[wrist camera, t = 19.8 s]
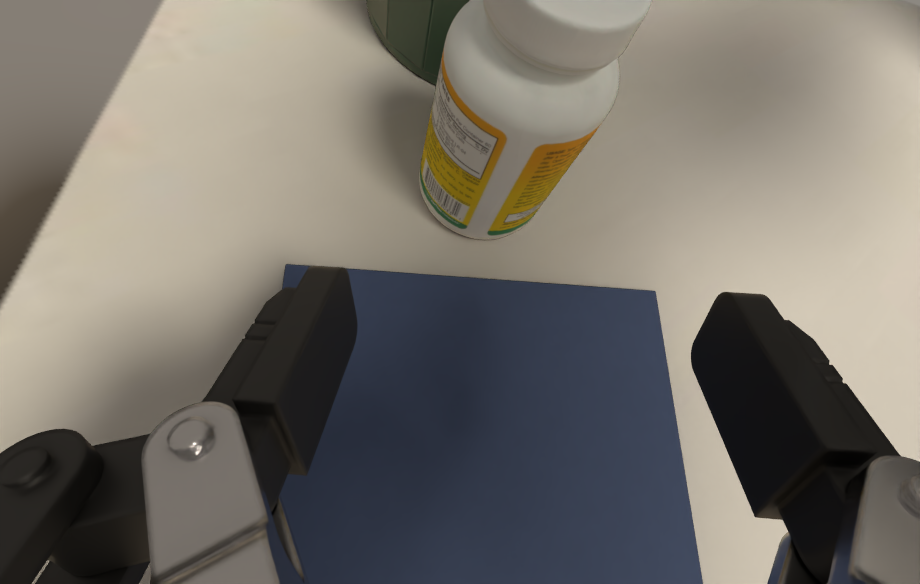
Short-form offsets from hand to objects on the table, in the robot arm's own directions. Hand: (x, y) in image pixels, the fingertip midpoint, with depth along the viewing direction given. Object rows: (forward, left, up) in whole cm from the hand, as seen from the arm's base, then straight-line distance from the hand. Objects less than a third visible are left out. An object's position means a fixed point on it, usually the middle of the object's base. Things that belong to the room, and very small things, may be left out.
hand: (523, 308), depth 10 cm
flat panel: (+1, +2, -7) cm, 8 cm away
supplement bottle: (-6, -4, -7) cm, 11 cm away
